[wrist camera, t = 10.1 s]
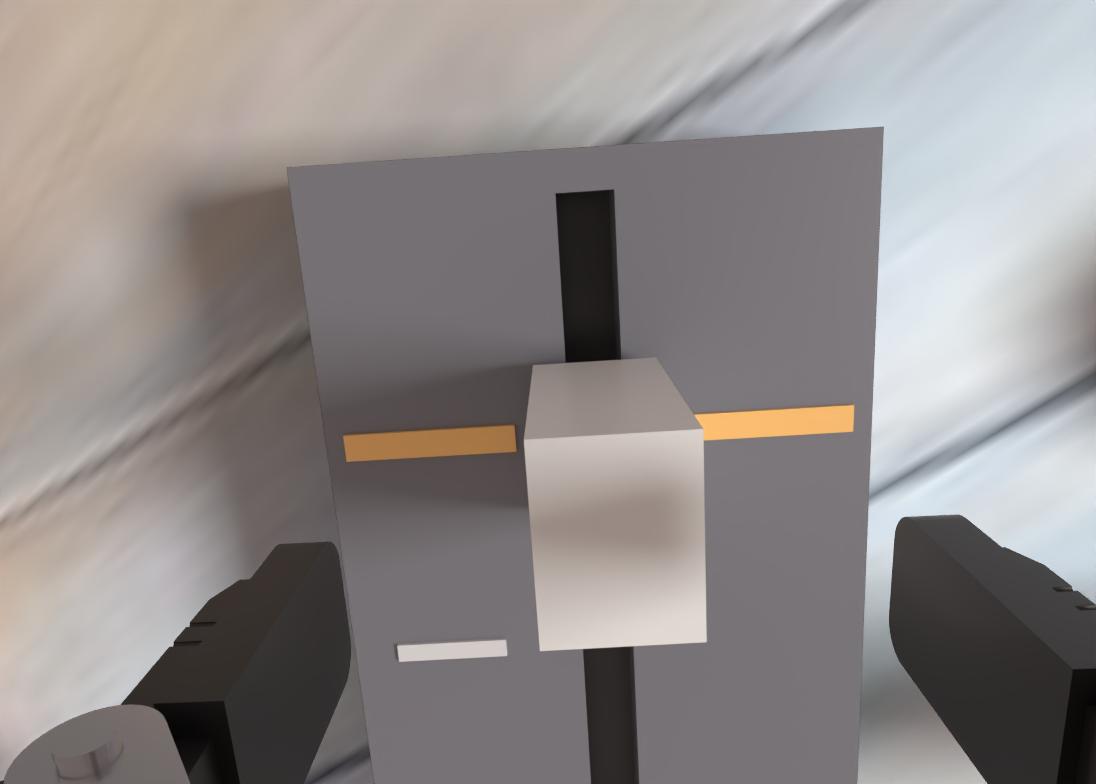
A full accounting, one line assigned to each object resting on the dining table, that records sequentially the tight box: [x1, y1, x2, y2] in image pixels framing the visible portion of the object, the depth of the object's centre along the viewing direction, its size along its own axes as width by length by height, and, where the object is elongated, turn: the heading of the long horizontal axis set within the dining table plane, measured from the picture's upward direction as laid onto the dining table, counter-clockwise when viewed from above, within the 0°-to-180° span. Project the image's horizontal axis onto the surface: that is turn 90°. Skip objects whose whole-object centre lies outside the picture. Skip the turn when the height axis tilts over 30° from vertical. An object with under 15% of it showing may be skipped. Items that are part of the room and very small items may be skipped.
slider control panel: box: [287, 127, 884, 784], centre depth 23 cm, size 23×14×5 cm, turn 4°
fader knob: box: [524, 357, 707, 651], centre depth 17 cm, size 4×3×8 cm
